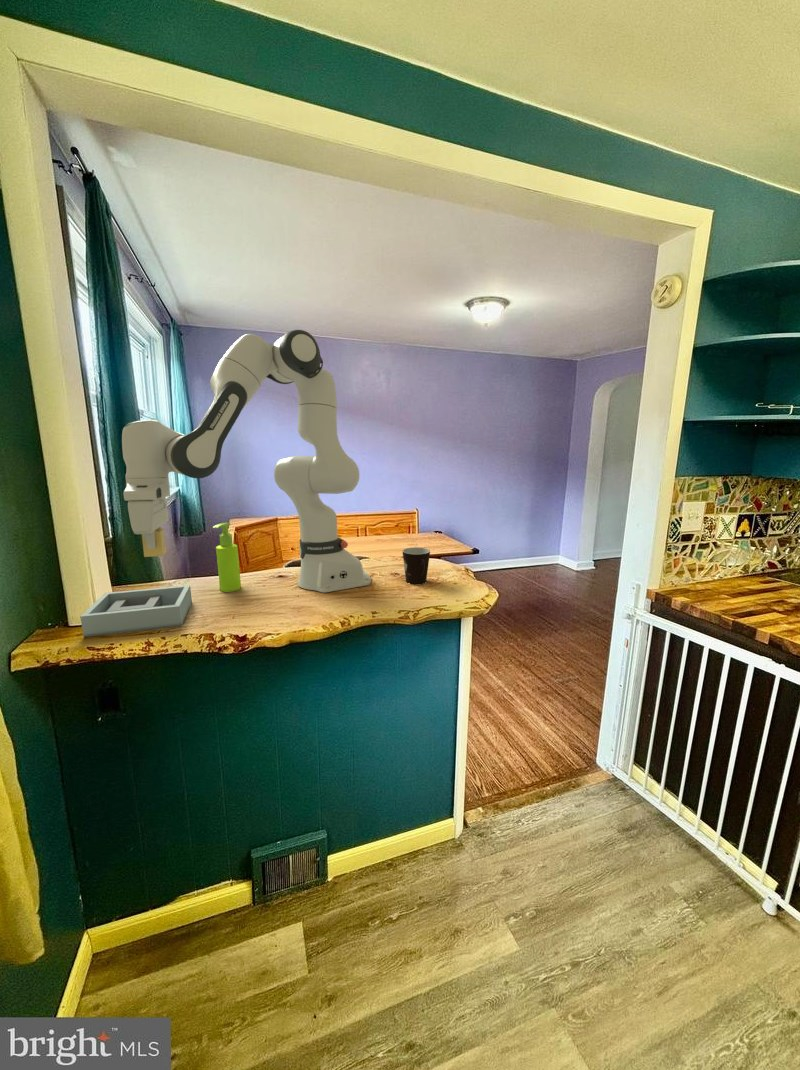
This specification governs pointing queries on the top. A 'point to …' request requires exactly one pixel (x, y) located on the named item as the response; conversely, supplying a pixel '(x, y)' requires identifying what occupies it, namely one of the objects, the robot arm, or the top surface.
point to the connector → (160, 542)
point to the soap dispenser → (227, 561)
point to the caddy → (137, 610)
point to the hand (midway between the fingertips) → (154, 546)
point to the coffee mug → (416, 564)
